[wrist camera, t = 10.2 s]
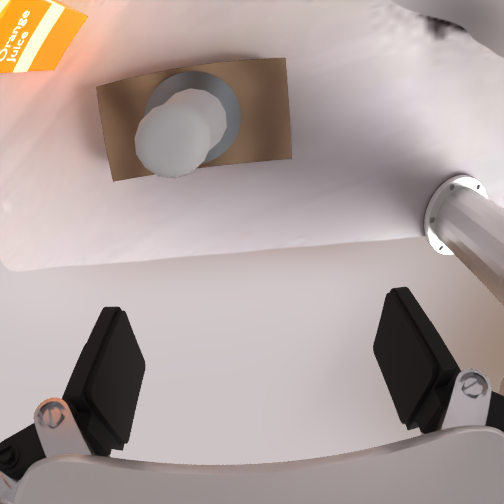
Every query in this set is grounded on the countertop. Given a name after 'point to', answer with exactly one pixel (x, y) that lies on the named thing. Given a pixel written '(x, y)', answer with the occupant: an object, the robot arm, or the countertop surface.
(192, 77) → the walnut stand
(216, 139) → the salt shaker
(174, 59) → the countertop surface
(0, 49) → the orange juice
